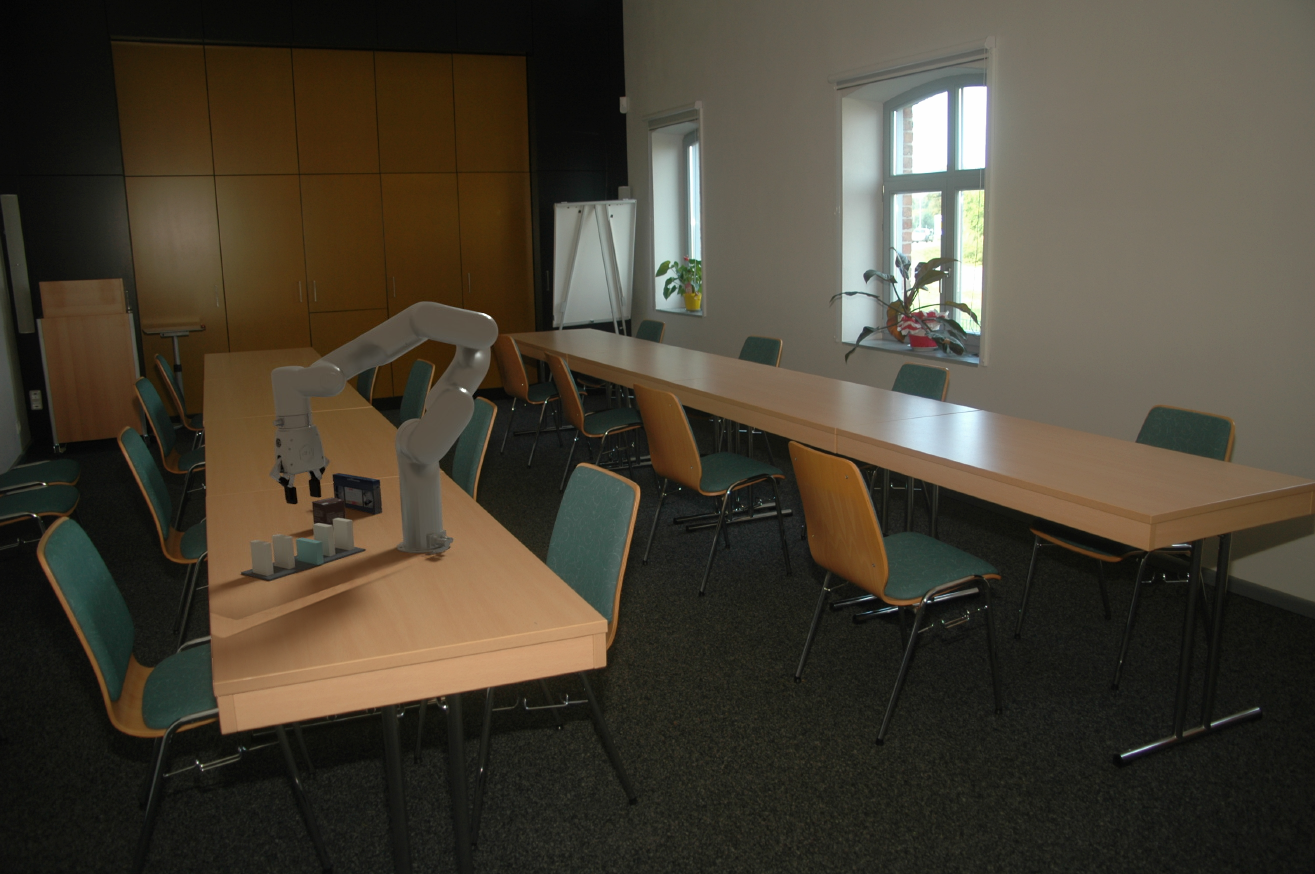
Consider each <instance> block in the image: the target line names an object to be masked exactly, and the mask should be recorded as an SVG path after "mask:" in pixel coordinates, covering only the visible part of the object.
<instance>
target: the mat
mask: <svg viewBox="0 0 1315 874" xmlns="http://www.w3.org/2000/svg"><path fill="white" fill-rule="evenodd" d="M365 551H366V548H364V547H363V548H362V547H357V546H354V549H352V550H344V549H339V548H335V555H332V556H326V555H323V561H324V563H322V564H319V565H316V564H312V563H307V562H303V561H298V559H297V555H294V559H295V567H294V568H291V569H286V568H282V567H278V566H275V563H274V561H273V572H274V574H272V575H268V576H266V575H262V574H257V573H253V568H251V569H250V568H249V569H246V570H244V571H240V574H241V575H244V576H248V577H252V578H256V579H261V580H264V581H269V582H271V581H274V580H277V579H280V578H284V577H286V576H290V575H293V574H296V573H299V572H303V571H305V570H308V569H312V568H315V567H318V566H320V565H324V564H325V565H326V564H328V563H331V562H334V561H337V560H341V559H344V558H346V557H350V556H353V555H356V554H360V553H362V552H365Z"/></svg>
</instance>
